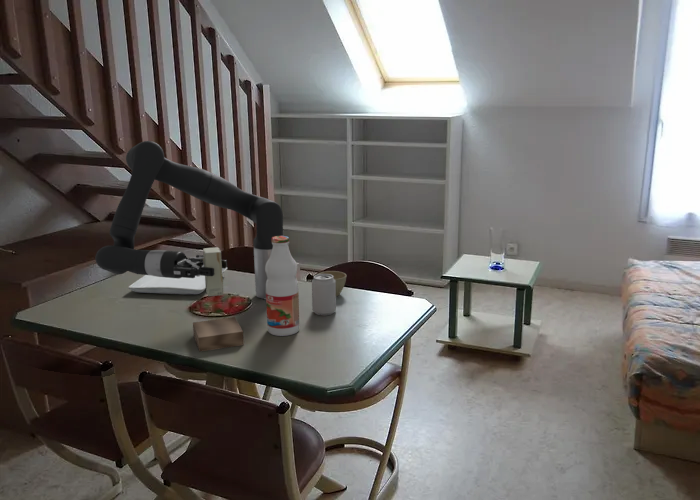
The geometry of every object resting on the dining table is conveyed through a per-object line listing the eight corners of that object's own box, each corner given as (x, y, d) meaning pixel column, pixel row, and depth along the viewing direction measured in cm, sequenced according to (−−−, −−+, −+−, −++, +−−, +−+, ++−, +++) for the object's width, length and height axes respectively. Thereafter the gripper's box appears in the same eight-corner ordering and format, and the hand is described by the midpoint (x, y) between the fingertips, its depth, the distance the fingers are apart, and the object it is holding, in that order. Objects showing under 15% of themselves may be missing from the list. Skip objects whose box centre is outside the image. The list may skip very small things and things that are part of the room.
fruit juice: (306, 330, 179) (303, 237, 172) (280, 339, 173) (276, 243, 166) (286, 322, 186) (283, 232, 178) (261, 330, 179) (256, 237, 172)
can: (340, 310, 195) (339, 274, 192) (329, 317, 189) (328, 280, 186) (319, 306, 199) (318, 271, 196) (308, 314, 192) (307, 277, 189)
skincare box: (224, 295, 167) (221, 252, 164) (207, 297, 165) (205, 253, 162) (221, 288, 173) (218, 246, 169) (205, 289, 171) (202, 247, 168)
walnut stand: (235, 329, 180) (234, 316, 179) (243, 344, 169) (243, 331, 168) (193, 335, 176) (192, 322, 175) (199, 351, 165) (198, 337, 164)
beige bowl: (336, 301, 203) (336, 281, 202) (311, 296, 209) (311, 276, 207) (352, 293, 212) (351, 273, 210) (328, 288, 217) (327, 269, 215)
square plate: (161, 273, 237) (160, 264, 236) (229, 275, 234) (228, 266, 233) (127, 296, 211) (126, 285, 210) (203, 299, 208) (202, 288, 207)
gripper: (150, 257, 163) (207, 261, 159) (177, 244, 176) (230, 248, 172) (153, 284, 165) (209, 289, 161) (179, 269, 178) (232, 273, 174)
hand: (220, 268), depth 167 cm, fingers closed on skincare box, 7 cm apart
